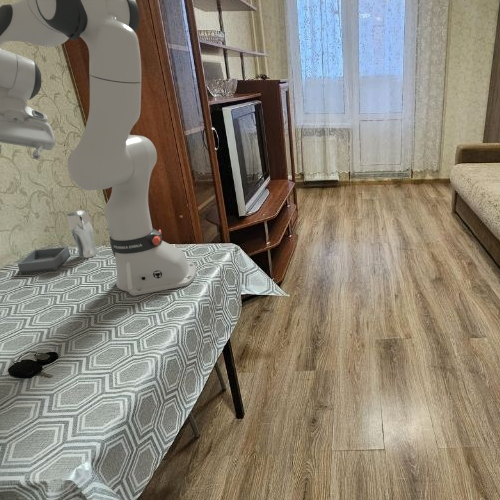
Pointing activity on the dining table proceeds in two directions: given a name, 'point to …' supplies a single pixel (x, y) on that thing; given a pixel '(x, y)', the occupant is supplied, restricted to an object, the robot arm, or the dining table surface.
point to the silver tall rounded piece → (82, 232)
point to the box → (44, 260)
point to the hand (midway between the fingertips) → (17, 154)
